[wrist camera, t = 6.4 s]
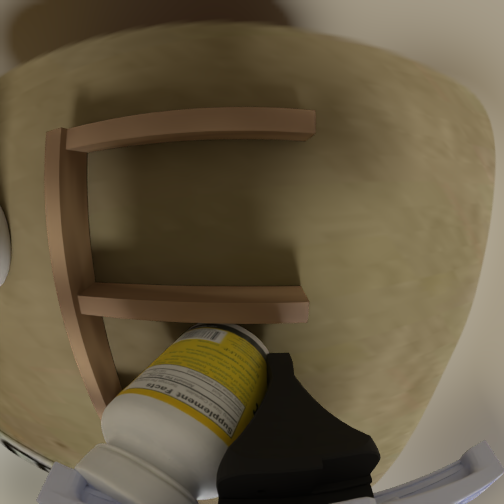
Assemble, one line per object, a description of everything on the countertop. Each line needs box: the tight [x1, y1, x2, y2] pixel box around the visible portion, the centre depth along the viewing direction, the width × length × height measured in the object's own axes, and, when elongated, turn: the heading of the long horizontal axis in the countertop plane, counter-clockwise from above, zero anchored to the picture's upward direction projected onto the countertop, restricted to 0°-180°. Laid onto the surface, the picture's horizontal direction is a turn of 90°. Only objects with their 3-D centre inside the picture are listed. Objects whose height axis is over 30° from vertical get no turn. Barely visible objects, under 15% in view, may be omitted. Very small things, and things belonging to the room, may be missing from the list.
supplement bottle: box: [74, 323, 269, 504], centre depth 9 cm, size 5×5×10 cm
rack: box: [44, 107, 316, 420], centre depth 12 cm, size 17×12×2 cm
